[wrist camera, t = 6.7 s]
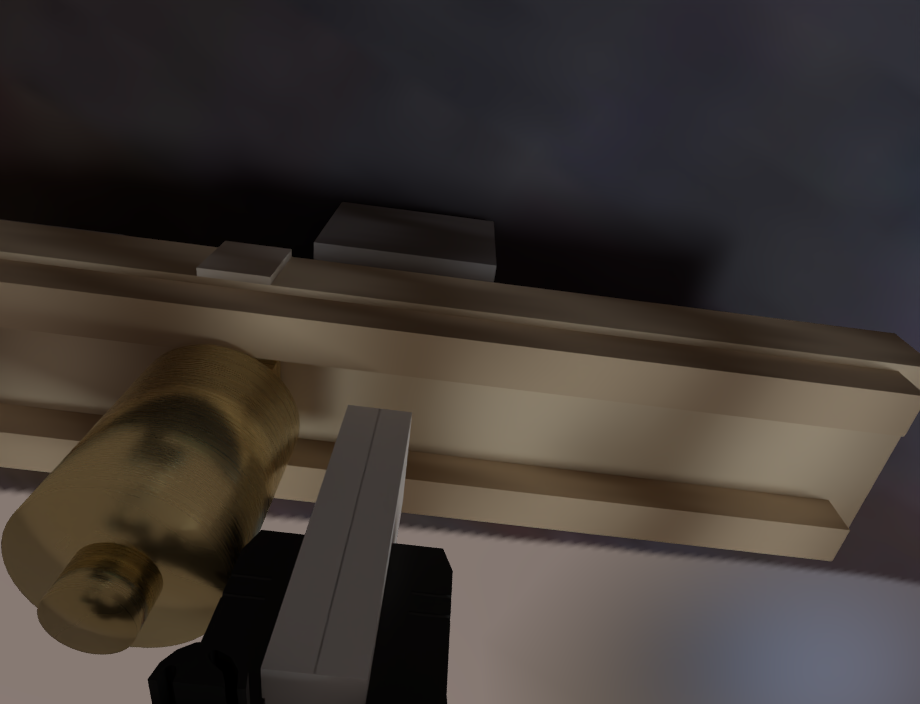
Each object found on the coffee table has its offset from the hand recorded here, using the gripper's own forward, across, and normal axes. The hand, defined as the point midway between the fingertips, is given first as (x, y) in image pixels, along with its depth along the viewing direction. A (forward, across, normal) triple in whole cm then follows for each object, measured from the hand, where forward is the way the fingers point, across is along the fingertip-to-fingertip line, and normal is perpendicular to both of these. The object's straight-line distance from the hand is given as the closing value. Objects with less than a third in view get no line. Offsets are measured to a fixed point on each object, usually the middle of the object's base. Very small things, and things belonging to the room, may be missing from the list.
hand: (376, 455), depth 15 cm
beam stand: (+8, 0, 0) cm, 8 cm away
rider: (+2, -4, 0) cm, 5 cm away
